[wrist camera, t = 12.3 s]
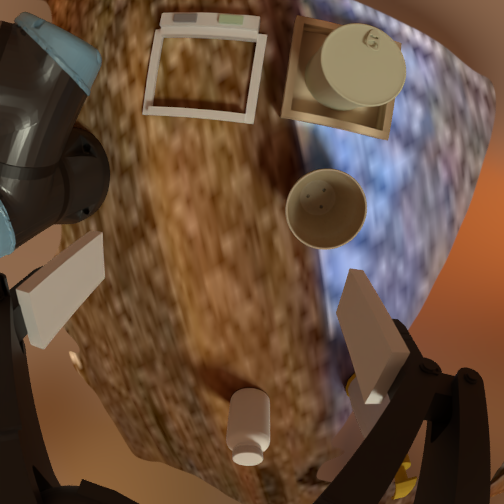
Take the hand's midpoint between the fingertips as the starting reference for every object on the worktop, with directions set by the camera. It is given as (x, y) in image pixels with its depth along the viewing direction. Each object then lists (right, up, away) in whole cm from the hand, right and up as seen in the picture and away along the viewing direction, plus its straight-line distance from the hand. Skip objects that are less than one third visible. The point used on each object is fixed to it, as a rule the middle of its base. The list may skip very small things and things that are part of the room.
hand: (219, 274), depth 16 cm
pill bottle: (+1, -29, +43) cm, 52 cm away
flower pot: (+11, +9, +27) cm, 31 cm away
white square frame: (-5, +25, +21) cm, 33 cm away
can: (+13, +24, +20) cm, 34 cm away
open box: (+13, +24, +20) cm, 34 cm away
